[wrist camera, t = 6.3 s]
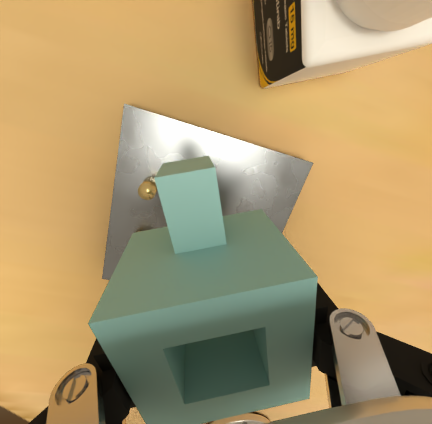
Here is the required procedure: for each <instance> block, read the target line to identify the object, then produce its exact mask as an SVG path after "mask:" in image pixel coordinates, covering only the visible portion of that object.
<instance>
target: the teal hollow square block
mask: <svg viewBox="0 0 432 424" xmlns="http://www.w3.org/2000/svg"><path fill="white" fill-rule="evenodd" d="M154 179H155V182H156V186H157V190H158V193H159V197H160V201H161V204H162V208H163V212H164V215H165V219H166V222H167V227H162V228H156V229H151V230H146V231H140V232H135V233H133V234H132V236H131V238H130V240H129V242H128V244H127V246H126V248H125V250H124V252H123V254H122V256H121V258H120V260H119V262H118V264H117V266H116V268H115V270H114V272H113V274H112V276H111V278H110V281H109V283H108V285H107V287H106V289H105V291H104V293H103V295H102V297H101V299H100V301H99V303H98V305H97V307H96V309H95V311H94V313H93V315H92V317H91V319H90V321H89V323H88V324H89V326H90V328H91V329H92V331H93V333H94V335H95V336H96V338H97V340H98V342H99V343H100V345H101V347H102V349H103V350H104V352H105V354H106V355H107V357H108V359H109V361H110V362H111V364H112V366H113V368H114V369H115V371H116V373H117V375H118V376H119V378H120V380H121V381H122V383H123V385H124V387H125V388H126V390H127V392H128V394H129V395H130V397H131V399H132V401H133V402H134V404H135V406H136V407H137V409H138V411H139V413H140V414H141V416H142V418H143V420H144V421H145V423H146V424H203V423H207V422H211V421H216V420H220V419H224V418H228V417H233V416H237V415H241V414H245V413H250V412H254V411H258V410H263V409H267V408H271V407H275V406H280V405H284V404H288V403H293V402H297V401H301V400H305V399H309V396H310V382H311V367H312V352H313V338H314V323H315V308H316V293H317V279H318V277H317V275H316V274H315V273H314V272H313V271H312V269H311V268H310V267H309V266H308V265H307V263H306V262H305V261H304V260H303V258H302V257H301V256H300V255H299V254H298V252H297V251H296V250H295V249H294V248H293V246H292V245H291V244H290V243H289V241H288V240H287V239H286V238H285V237H284V235H283V234H282V233H281V232H280V231H279V229H278V228H277V227H276V226H275V225H274V223H273V222H272V221H271V220H270V218H269V217H268V216H267V215H266V214H265V212H264V211H263V210H262V209H259V210H253V211H248V212H243V213H237V214H232V215H227V216H222V209H221V202H220V196H219V189H218V182H217V176H216V169H215V166H214V164H213V162H212V161H211V159H210V157H209V156H203V157H197V158H191V159H185V160H180V161H174V162H168V163H163V164H162V166H161V167H160V169H159V171H158V172H157V174H156V176H155V177H154Z"/></svg>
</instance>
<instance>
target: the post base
mask: <svg viewBox="0 0 432 424" xmlns="http://www.w3.org/2000/svg"><path fill="white" fill-rule="evenodd" d="M203 156H209V157H210V159H211V161H212V162H213V164H214V166H215V169H216V176H217V182H218V189H219V196H220V202H221V209H222V216H227V215H232V214H237V213H243V212H248V211H253V210H259V209H262V210H263V211H264V212H265V214H266V215H267V216H268V217H269V218H270V220H271V221H272V222H273V223H274V225H275V226H276V227H277V228H278V229H279V231H280V232H281V233H282V232H283V230H284V227H285V225H286V223H287V221H288V218H289V216H290V214H291V212H292V209H293V207H294V205H295V203H296V200H297V198H298V196H299V194H300V192H301V189H302V187H303V185H304V183H305V180H306V178H307V176H308V174H309V171H310V169H311V167H312V165H313V163H312V162H309V161H305V160H302V159H299V158H296V157H293V156H289V155H286V154H283V153H280V152H277V151H273V150H270V149H267V148H264V147H261V146H258V145H254V144H251V143H248V142H245V141H242V140H238V139H235V138H232V137H229V136H226V135H222V134H219V133H216V132H213V131H210V130H207V129H203V128H200V127H197V126H194V125H191V124H187V123H184V122H181V121H178V120H175V119H172V118H168V117H165V116H162V115H159V114H156V113H152V112H149V111H146V110H143V109H140V108H136V107H133V106H130V105H127V104H124V110H123V118H122V126H121V134H120V142H119V149H118V157H117V165H116V173H115V181H114V189H113V197H112V205H111V213H110V221H109V229H108V237H107V245H106V253H105V260H104V268H103V276H102V279H107V280H110V278H111V276H112V274H113V272H114V270H115V268H116V266H117V264H118V262H119V260H120V258H121V256H122V254H123V252H124V250H125V248H126V246H127V244H128V242H129V240H130V238H131V236H132V234H133V233H135V232H140V231H146V230H151V229H156V228H162V227H167V222H166V219H165V215H164V212H163V208H162V204H161V201H160V197H159V193H158V190H157V186H156V182H155V179H154V177H155V176H156V174H157V172H158V171H159V169H160V167H161V166H162V164H163V163H168V162H174V161H180V160H185V159H191V158H197V157H203Z"/></svg>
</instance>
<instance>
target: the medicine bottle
mask: <svg viewBox="0 0 432 424" xmlns="http://www.w3.org/2000/svg"><path fill="white" fill-rule="evenodd" d="M253 10H254V21H255V32H256V43H257V55H258V66H259V77H260V85H261V87H262V88H270V87H275V86H280V85H285V84H290V83H295V82H300V81H305V80H310V79H315V78H320V77H325V76H330V75H335V74H340V73H345V72H348V71H351V70H354V69H357V68H360V67H363V66H366V65H369V64H372V63H375V62H378V61H381V60H384V59H387V58H390V57H393V56H396V55H399V54H402V53H405V52H408V51H411V50H414V49H417V48H420V47H423V46H426V45H429V44H432V0H253Z"/></svg>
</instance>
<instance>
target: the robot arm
mask: <svg viewBox="0 0 432 424" xmlns="http://www.w3.org/2000/svg"><path fill="white" fill-rule="evenodd" d="M313 366H317V367H318V369H319V371H321V372H323V373H325V381H326V388H327V395H328V403H329V409H324V410H320V411H316V412H312V413H307V414H303V415H299V416H294V417H290V418H286V419H281V420H277V421H273V422H270V421H269V420H268V419H267V418H265V417H264V416H261V415H259V414H254V413H245V414H241V415H237V416H233V417H228V418H224V419H220V420H216V421H213V422H212V423H210V424H432V354H431V353H429V352H426V351H424V350H421V349H419V348H416V347H414V346H411V345H409V344H406V343H404V342H401V341H399V340H396V339H394V338H391V337H389V336H386V335H384V334H381V333H379V332H376V330H375V328H374V326H373V324H372V323H371V322H370V321H369V320H368V318H367V317H365V316H364V315H362V314H361V313H359V312H356V311H354V310H350V309H338V308H337V307H336V305H335V304H334V303H333V302H332V300H331V299H330V298H329V297H328V295H327V294H326V293H325V292H324V290H323V289H322V288H321V286H320V285H319V284H318V283H317V293H316V308H315V323H314V338H313V352H312V367H313ZM133 407H136V406H135V404H134V402H133V401H132V399H131V397H130V395H129V394H128V392H127V390H126V388H125V387H124V385H123V383H122V381H121V380H120V378H119V376H118V375H117V373H116V371H115V369H114V368H113V366H112V364H111V362H110V361H109V359H108V357H107V355H106V354H105V352H104V350H103V349H102V347H101V345H100V343H99V342H98V340H97V338H96V341H95V343H94V345H93V348H92V350H91V352H90V355H89V357H88V360H87V362H86V364H80V365H78V366H76V367H74V368H72V369H71V370H69V371H68V372H67V373H66V374H65V375H64V376H63V377H62V378H61V379H60V380H59V381H58V382H57V384H56V385H55V387H54V389H53V391H52V392H51V396H50V399H49V406H48V407H47V408H46V409H44V410H43V411H42V412H41V413H40V414H39V415H38V416H37V417H36V418H34V419H33V420H32V421H31V422H30V423H29V424H126V420H125V418H126V416H127V415H128V414H129V410H130V408H133Z"/></svg>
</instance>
